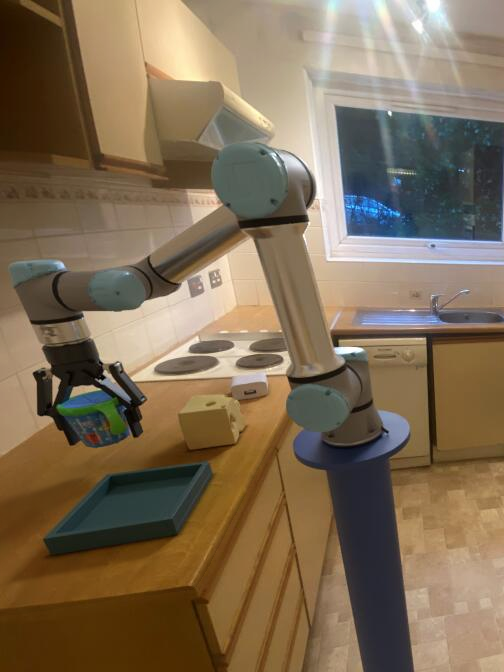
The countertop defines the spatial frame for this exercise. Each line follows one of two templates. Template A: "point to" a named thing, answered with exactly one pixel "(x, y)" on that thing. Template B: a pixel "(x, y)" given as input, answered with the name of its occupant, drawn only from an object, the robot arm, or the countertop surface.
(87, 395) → the snack cup
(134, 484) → the tray
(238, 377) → the charger
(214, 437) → the cheese
